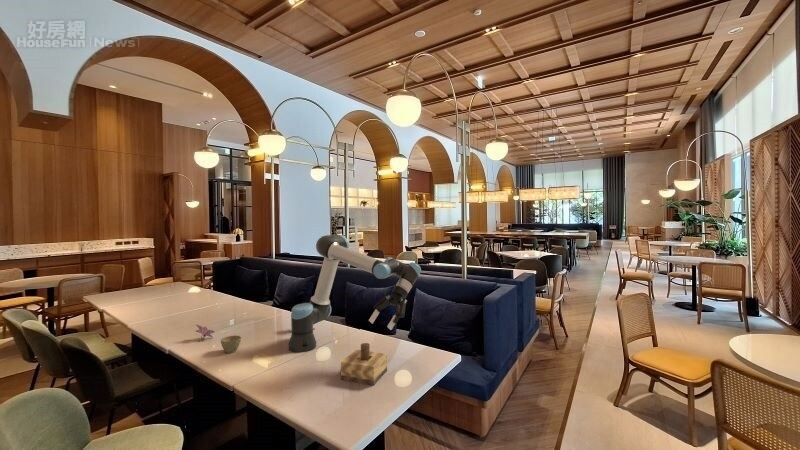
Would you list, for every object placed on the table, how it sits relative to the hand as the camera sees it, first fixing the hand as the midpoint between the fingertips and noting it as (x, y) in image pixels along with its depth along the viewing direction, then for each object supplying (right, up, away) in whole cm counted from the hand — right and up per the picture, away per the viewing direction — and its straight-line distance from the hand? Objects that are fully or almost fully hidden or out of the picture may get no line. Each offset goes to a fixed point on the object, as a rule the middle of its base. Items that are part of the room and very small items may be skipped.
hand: (379, 325), depth 163 cm
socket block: (-6, -21, -8) cm, 23 cm away
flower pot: (-82, -21, +21) cm, 87 cm away
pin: (-6, -18, -8) cm, 21 cm away
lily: (-107, -21, +40) cm, 116 cm away
